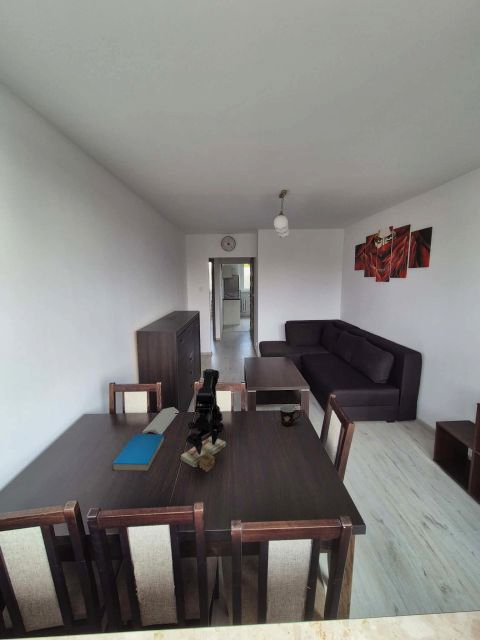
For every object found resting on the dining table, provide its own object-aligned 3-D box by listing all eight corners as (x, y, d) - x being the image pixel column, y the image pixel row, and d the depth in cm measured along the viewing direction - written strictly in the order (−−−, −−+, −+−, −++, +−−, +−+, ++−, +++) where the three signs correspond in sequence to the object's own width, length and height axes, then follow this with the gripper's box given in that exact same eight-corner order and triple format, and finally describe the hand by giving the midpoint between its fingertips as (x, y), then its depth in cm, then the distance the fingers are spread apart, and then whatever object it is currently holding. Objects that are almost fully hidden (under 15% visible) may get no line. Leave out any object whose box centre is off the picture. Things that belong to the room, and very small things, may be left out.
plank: (212, 439, 154) (212, 435, 153) (225, 446, 148) (225, 441, 147) (181, 459, 137) (180, 455, 136) (194, 467, 131) (194, 463, 130)
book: (164, 434, 153) (148, 463, 129) (164, 441, 154) (148, 471, 129) (133, 434, 154) (111, 462, 129) (133, 441, 154) (112, 471, 130)
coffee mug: (277, 425, 169) (277, 409, 167) (283, 419, 176) (283, 404, 174) (295, 430, 162) (295, 414, 161) (300, 424, 169) (301, 409, 168)
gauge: (207, 462, 135) (206, 451, 134) (214, 466, 132) (214, 455, 131) (199, 467, 131) (199, 456, 130) (207, 472, 128) (206, 460, 127)
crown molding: (162, 411, 189) (161, 406, 189) (179, 412, 188) (179, 407, 187) (141, 434, 161) (141, 428, 160) (161, 435, 159) (161, 430, 159)
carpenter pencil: (207, 440, 149) (207, 439, 148) (209, 441, 148) (209, 440, 148) (190, 454, 137) (190, 453, 137) (191, 455, 136) (191, 454, 136)
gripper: (207, 406, 140) (208, 435, 142) (178, 420, 125) (179, 452, 128) (224, 412, 133) (224, 442, 135) (195, 428, 118) (196, 462, 121)
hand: (206, 449), depth 130 cm, fingers open, 9 cm apart
